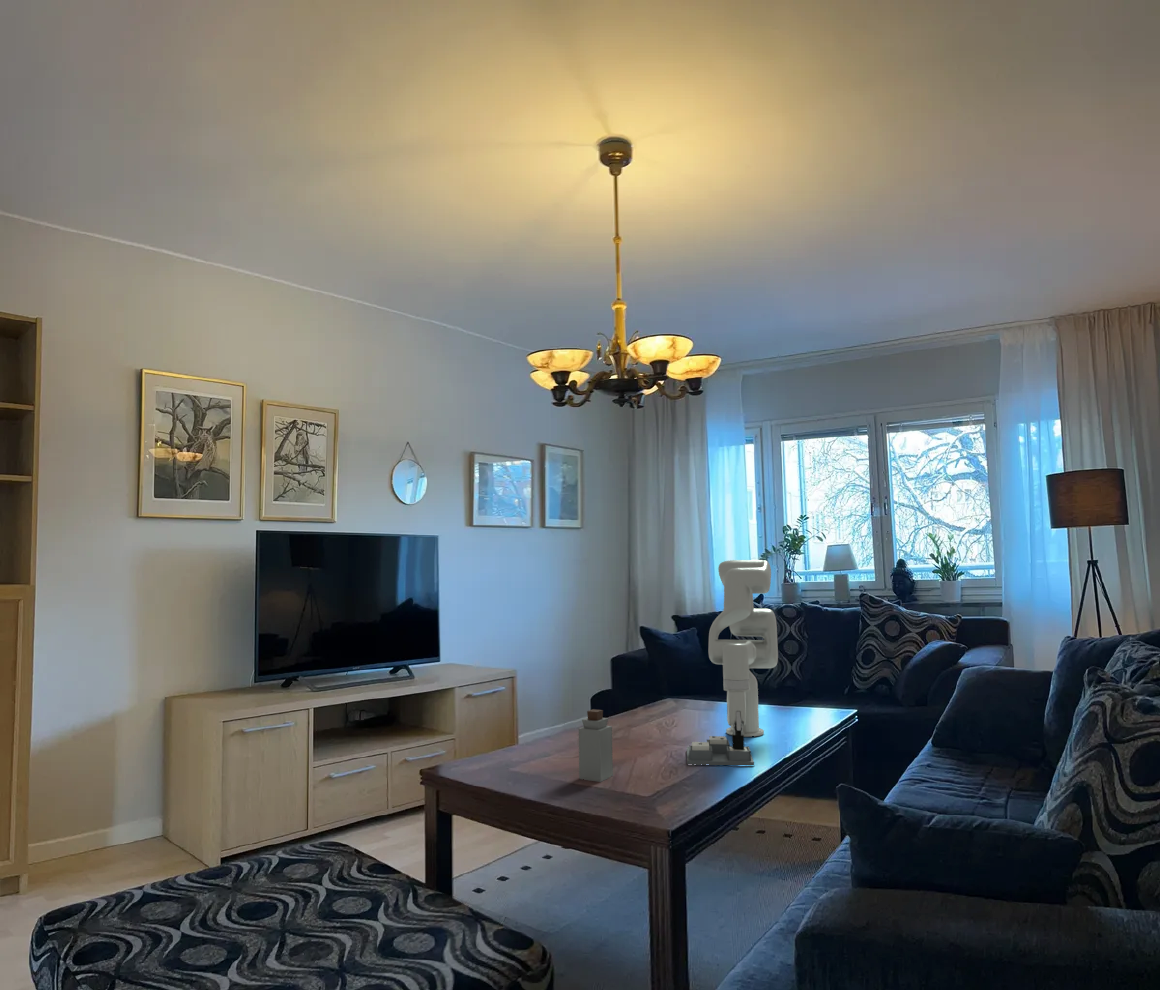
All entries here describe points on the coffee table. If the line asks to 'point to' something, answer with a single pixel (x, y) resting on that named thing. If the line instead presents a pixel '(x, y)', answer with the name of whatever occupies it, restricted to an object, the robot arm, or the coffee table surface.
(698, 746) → the button one
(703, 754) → the button board
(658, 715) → the coffee table surface
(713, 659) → the robot arm
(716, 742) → the button two
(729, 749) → the button three
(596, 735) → the perfume bottle
